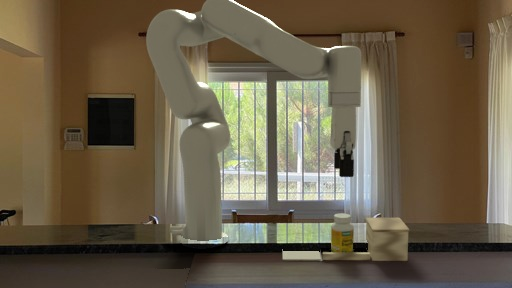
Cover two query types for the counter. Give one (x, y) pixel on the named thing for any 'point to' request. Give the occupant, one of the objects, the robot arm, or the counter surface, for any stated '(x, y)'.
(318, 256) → the mat
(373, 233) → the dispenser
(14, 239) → the counter surface
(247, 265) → the counter surface
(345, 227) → the supplement bottle
